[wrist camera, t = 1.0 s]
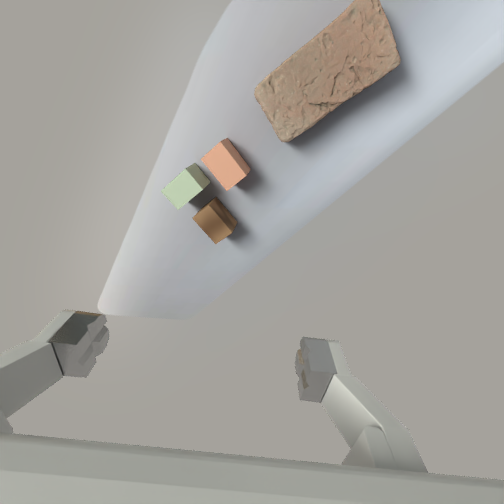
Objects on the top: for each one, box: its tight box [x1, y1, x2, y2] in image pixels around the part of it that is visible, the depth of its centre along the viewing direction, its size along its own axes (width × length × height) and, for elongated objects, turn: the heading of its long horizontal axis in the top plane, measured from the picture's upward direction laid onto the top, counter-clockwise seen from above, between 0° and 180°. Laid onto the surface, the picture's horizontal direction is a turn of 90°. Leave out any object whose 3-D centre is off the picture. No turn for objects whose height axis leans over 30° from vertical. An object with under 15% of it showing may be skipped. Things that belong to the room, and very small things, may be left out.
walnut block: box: [193, 197, 237, 244], centre depth 45 cm, size 6×4×4 cm, turn 39°
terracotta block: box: [201, 138, 251, 191], centre depth 40 cm, size 6×4×4 cm, turn 39°
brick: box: [254, 0, 401, 142], centre depth 33 cm, size 17×8×5 cm, turn 125°
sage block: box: [161, 163, 210, 210], centre depth 43 cm, size 6×4×4 cm, turn 129°
